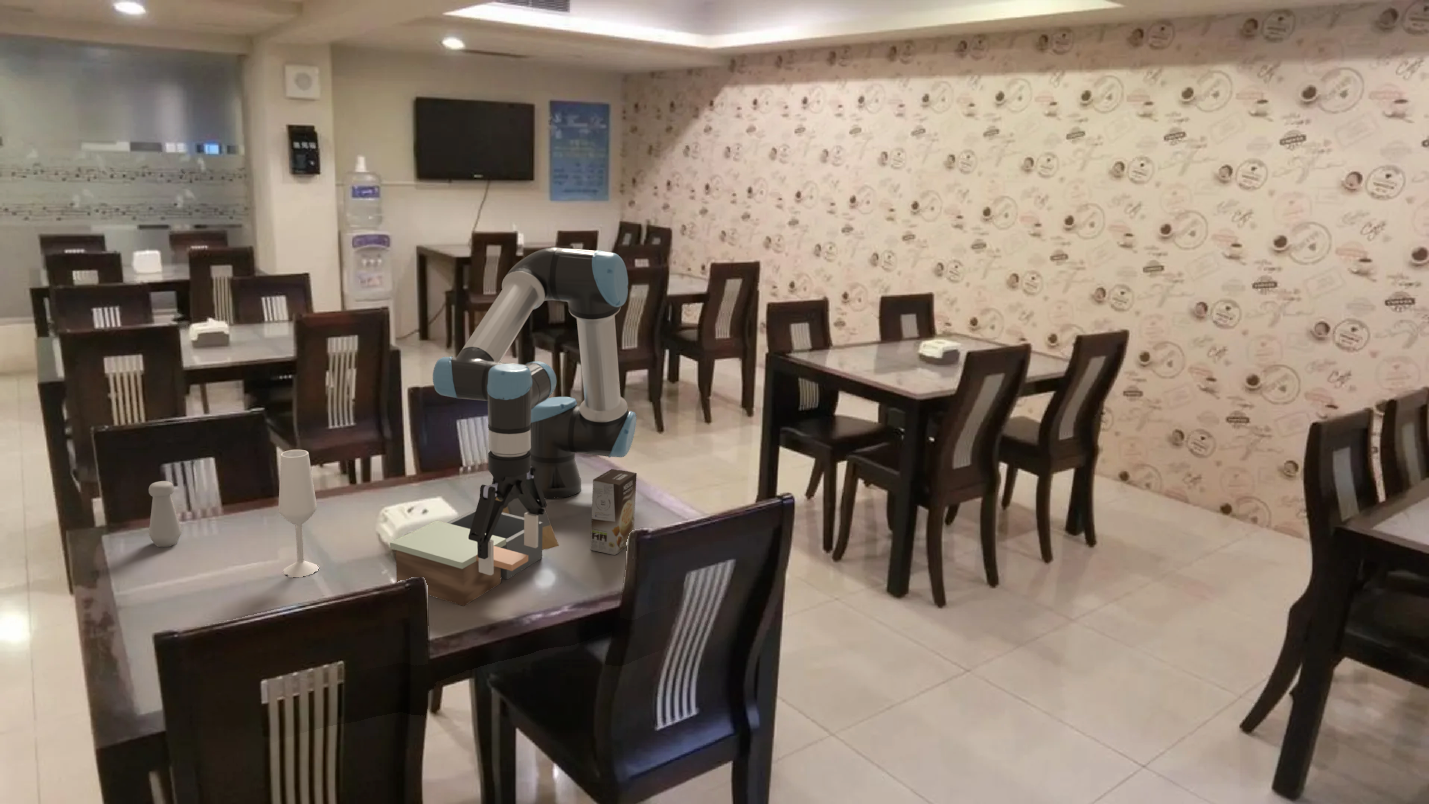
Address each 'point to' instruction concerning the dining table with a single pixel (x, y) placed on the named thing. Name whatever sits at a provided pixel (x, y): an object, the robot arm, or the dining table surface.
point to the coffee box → (612, 510)
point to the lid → (454, 546)
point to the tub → (509, 537)
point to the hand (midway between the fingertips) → (509, 559)
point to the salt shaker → (163, 515)
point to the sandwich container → (548, 534)
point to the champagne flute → (297, 503)
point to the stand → (447, 578)
